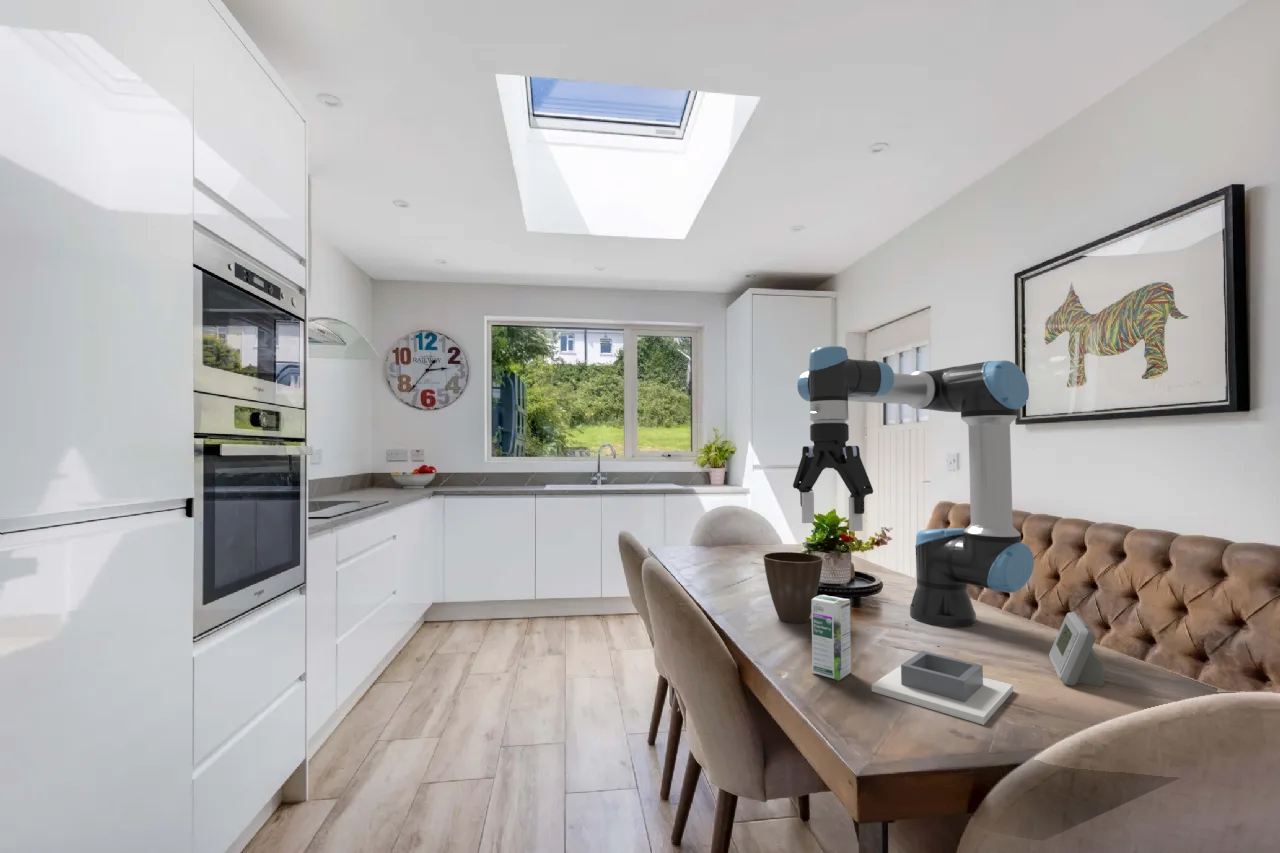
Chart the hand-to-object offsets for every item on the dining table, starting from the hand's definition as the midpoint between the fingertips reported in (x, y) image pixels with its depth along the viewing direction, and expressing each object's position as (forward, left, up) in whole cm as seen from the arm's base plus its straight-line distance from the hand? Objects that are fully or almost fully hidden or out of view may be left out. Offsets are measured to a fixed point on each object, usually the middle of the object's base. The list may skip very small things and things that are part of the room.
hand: (830, 526), depth 118 cm
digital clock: (-39, +23, -28) cm, 53 cm away
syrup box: (+3, +3, -28) cm, 28 cm away
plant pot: (-14, -29, -28) cm, 43 cm away
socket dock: (-9, +18, -28) cm, 34 cm away
